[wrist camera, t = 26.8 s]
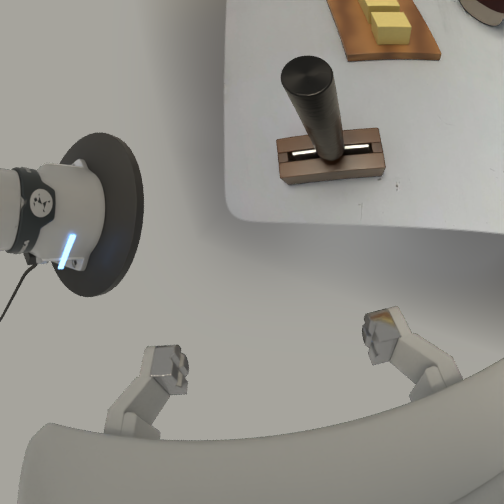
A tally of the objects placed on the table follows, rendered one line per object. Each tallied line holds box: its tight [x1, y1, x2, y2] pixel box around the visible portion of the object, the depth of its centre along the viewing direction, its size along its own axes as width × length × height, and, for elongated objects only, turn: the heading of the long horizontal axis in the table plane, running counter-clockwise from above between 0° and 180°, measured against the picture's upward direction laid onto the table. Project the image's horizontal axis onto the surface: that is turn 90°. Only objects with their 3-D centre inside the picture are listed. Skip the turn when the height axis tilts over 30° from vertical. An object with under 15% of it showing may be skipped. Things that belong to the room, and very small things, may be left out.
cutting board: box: [326, 0, 441, 61], centre depth 23 cm, size 12×18×2 cm, turn 5°
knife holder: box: [276, 128, 386, 185], centre depth 26 cm, size 10×4×4 cm, turn 95°
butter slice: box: [371, 12, 412, 45], centre depth 21 cm, size 4×3×4 cm, turn 95°
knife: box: [281, 56, 369, 161], centre depth 20 cm, size 7×3×17 cm, turn 95°
